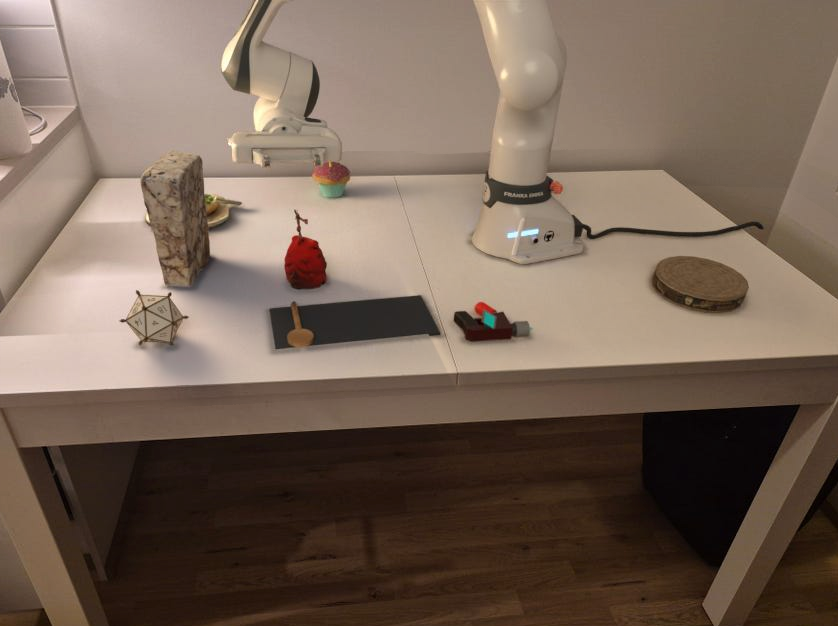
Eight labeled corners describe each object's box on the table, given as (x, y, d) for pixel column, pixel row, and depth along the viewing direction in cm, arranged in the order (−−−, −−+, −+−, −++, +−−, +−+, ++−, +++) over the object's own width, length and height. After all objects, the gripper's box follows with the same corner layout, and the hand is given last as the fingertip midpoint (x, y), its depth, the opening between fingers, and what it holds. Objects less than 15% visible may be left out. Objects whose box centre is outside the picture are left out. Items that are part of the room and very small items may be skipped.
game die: (165, 368, 100) (141, 347, 91) (126, 334, 102) (98, 311, 92) (205, 325, 102) (186, 301, 93) (167, 293, 104) (144, 266, 94)
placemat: (420, 297, 113) (420, 295, 113) (440, 335, 104) (440, 332, 104) (269, 310, 108) (269, 308, 107) (275, 351, 98) (275, 349, 98)
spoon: (281, 306, 108) (280, 301, 108) (305, 304, 109) (305, 299, 108) (288, 348, 98) (288, 343, 98) (315, 345, 99) (315, 340, 99)
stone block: (201, 290, 112) (183, 177, 101) (160, 289, 112) (137, 175, 100) (216, 255, 123) (201, 149, 111) (178, 254, 123) (160, 148, 111)
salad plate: (241, 196, 146) (239, 176, 144) (244, 229, 132) (242, 208, 130) (150, 200, 142) (146, 180, 140) (144, 235, 128) (139, 213, 126)
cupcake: (348, 201, 147) (348, 148, 140) (311, 200, 146) (308, 146, 139) (351, 187, 154) (351, 136, 146) (315, 186, 153) (313, 134, 146)
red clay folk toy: (334, 280, 117) (332, 200, 108) (314, 298, 112) (311, 215, 103) (297, 270, 119) (293, 192, 111) (276, 287, 114) (270, 206, 105)
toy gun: (535, 340, 104) (541, 314, 101) (463, 345, 102) (466, 319, 99) (516, 308, 112) (520, 284, 109) (448, 313, 109) (451, 287, 107)
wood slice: (659, 262, 128) (663, 248, 126) (746, 283, 123) (752, 269, 121) (644, 297, 117) (648, 282, 115) (739, 322, 111) (745, 307, 109)
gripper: (225, 120, 121) (231, 146, 111) (333, 120, 126) (349, 145, 116) (227, 153, 125) (233, 181, 114) (332, 152, 130) (347, 179, 120)
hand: (293, 163), depth 115 cm, fingers open, 8 cm apart
